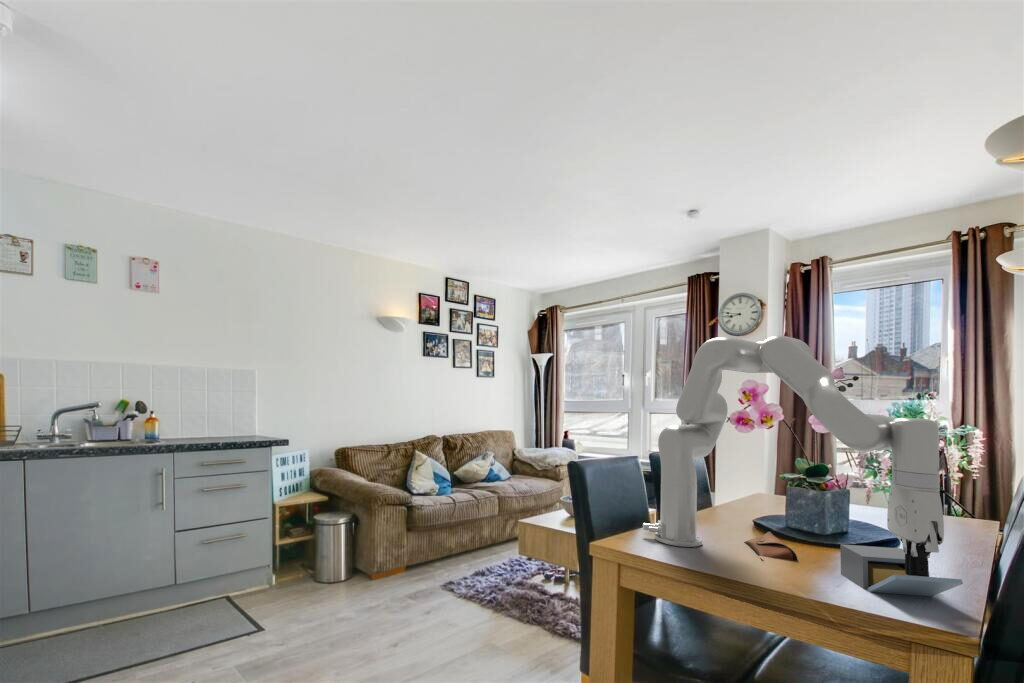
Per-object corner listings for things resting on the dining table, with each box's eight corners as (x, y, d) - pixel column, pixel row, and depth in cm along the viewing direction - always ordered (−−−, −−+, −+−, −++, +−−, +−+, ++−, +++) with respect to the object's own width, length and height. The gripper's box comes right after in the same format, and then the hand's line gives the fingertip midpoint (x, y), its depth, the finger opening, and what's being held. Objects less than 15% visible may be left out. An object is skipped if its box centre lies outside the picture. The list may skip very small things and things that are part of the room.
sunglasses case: (741, 541, 147) (754, 521, 147) (763, 556, 146) (776, 536, 146) (761, 561, 129) (776, 538, 130) (788, 578, 128) (802, 555, 128)
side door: (868, 592, 110) (896, 578, 101) (867, 588, 110) (894, 574, 102) (930, 597, 109) (963, 583, 100) (928, 592, 109) (961, 579, 100)
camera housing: (863, 592, 111) (862, 556, 111) (840, 577, 120) (840, 544, 120) (937, 598, 109) (936, 561, 110) (909, 582, 118) (908, 549, 119)
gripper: (872, 473, 112) (873, 562, 110) (921, 486, 97) (922, 589, 95) (910, 476, 111) (911, 565, 110) (964, 489, 96) (966, 592, 95)
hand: (916, 576), depth 103 cm, fingers closed
